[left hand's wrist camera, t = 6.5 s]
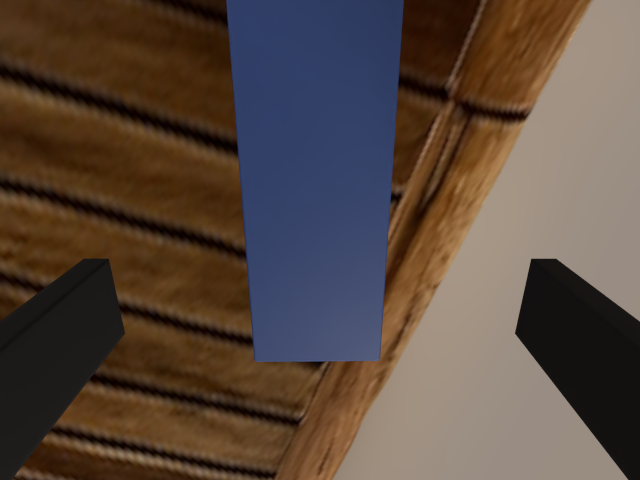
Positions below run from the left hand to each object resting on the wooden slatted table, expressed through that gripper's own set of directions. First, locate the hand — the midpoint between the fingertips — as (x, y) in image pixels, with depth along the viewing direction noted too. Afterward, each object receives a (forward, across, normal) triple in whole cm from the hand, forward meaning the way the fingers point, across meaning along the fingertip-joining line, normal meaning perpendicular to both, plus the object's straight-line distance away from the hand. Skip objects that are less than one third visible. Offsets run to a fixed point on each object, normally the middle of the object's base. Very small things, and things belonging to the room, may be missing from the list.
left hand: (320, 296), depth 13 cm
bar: (+10, 0, -10) cm, 14 cm away
